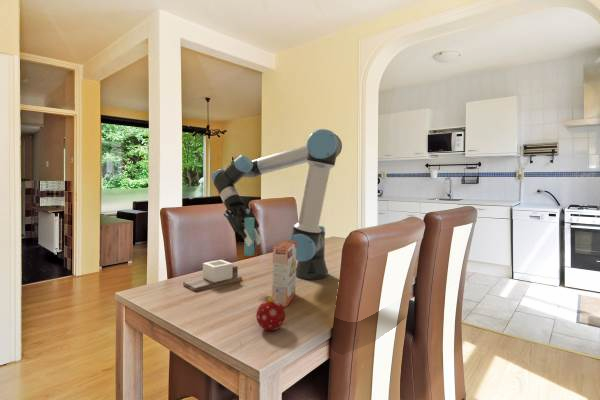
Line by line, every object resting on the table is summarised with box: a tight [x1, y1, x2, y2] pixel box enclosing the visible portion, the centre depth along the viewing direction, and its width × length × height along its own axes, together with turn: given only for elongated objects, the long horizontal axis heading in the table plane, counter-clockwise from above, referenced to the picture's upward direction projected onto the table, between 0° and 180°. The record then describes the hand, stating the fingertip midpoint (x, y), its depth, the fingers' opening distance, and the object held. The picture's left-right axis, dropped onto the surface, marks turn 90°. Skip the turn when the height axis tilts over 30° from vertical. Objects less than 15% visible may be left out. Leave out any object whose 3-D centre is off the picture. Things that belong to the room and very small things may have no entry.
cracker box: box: [271, 240, 297, 308], centre depth 125 cm, size 14×6×21 cm, turn 168°
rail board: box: [182, 264, 243, 293], centre depth 144 cm, size 10×22×6 cm, turn 134°
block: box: [202, 259, 234, 282], centre depth 146 cm, size 9×9×6 cm
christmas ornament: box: [255, 295, 286, 331], centre depth 102 cm, size 9×9×10 cm
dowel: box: [243, 218, 255, 257], centre depth 140 cm, size 4×4×15 cm
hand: (255, 243), depth 137 cm, fingers closed on dowel, 4 cm apart
